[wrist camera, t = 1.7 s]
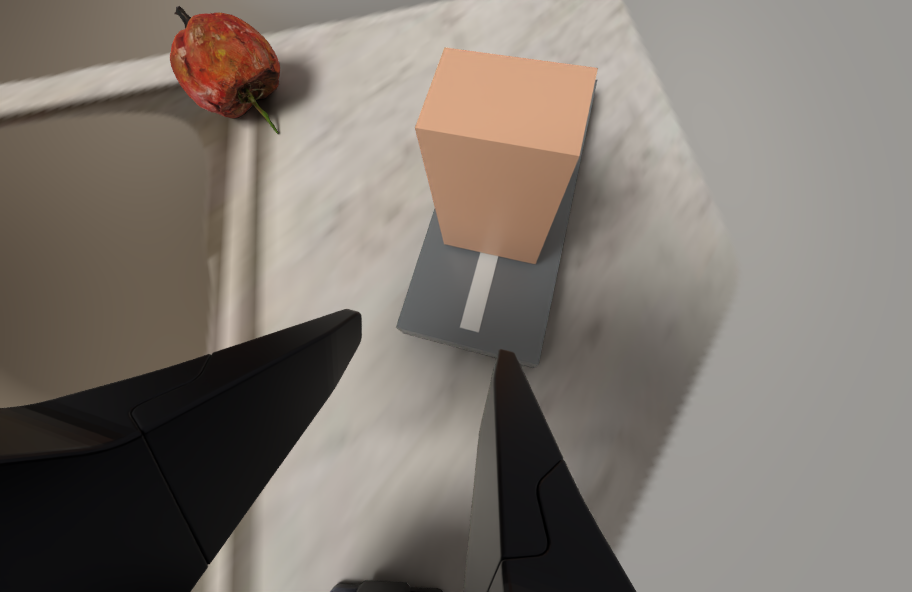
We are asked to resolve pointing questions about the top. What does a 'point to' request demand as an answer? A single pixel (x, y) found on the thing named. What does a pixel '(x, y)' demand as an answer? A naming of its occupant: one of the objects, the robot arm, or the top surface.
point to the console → (486, 291)
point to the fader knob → (501, 147)
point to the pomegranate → (224, 63)
